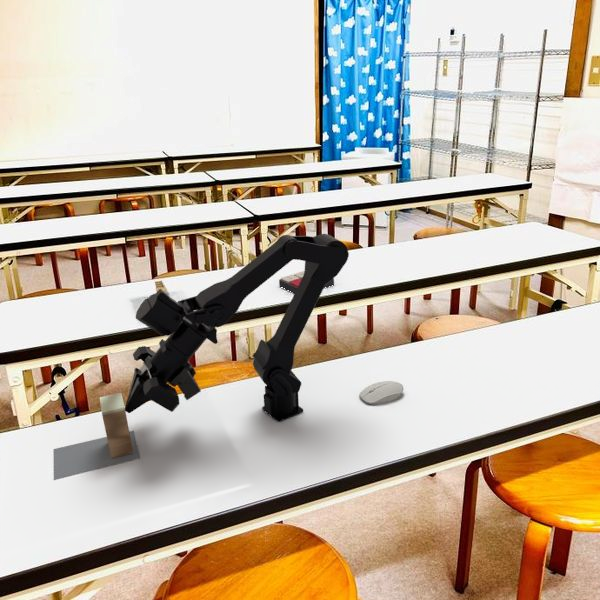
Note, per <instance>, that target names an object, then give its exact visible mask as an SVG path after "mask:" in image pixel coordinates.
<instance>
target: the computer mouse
mask: <svg viewBox="0 0 600 600" xmlns="http://www.w3.org/2000/svg"><path fill="white" fill-rule="evenodd" d="M403 392H404V386H403V384H402V383H400V382H398V381H393V380H385V381H384V380H383V381H379V382H374V383H371V384H370V385H367V386H366V387H365V388H364V389H362V390H361V391H360V392H359V398H360V399H361V400H362V401H363V402H365V403H366V404H368V405H369V404H370V405H380V404H381V405H382V404H386V403H389V402H392V401H395V400H396V399H398V398H399V397H400V396H401V395H402V394H403Z"/></svg>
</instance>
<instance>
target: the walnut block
mask: <svg viewBox="0 0 600 600" xmlns="http://www.w3.org/2000/svg"><path fill="white" fill-rule="evenodd" d="M99 402H100V408H101V410H100V411H101V416H102V420H103V425H104V430H105V434H106V437H107V440H108V445H109V449H110V454H111V459H114V458H118V457H121V456H125V455H129V454H133V448H132V443H131V438H130V432H129V431H130V428H129V422H128V418H127V412H126V411H125V402H124V399H123V394H122V392H117V393H112V394H108V395H104V396H100V397H99Z"/></svg>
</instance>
